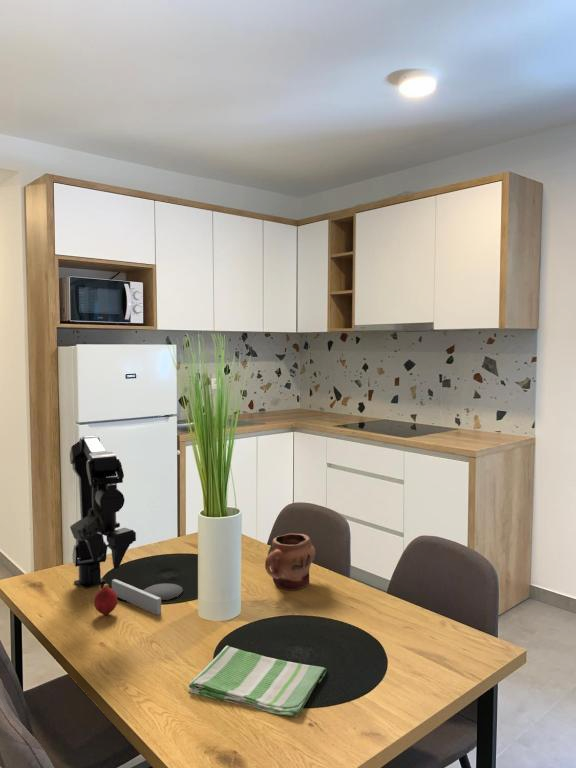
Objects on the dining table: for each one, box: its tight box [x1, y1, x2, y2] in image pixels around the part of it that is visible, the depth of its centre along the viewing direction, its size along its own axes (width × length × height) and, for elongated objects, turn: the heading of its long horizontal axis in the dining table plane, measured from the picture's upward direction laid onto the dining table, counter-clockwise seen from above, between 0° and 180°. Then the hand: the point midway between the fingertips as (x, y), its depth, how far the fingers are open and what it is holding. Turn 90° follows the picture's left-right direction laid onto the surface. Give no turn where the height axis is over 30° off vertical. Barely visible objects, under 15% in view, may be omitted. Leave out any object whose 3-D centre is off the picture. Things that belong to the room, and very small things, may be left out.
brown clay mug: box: [264, 533, 316, 591], centre depth 172 cm, size 20×12×14 cm, turn 147°
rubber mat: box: [142, 583, 184, 602], centre depth 168 cm, size 11×11×1 cm
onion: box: [93, 583, 119, 616], centre depth 154 cm, size 6×6×8 cm
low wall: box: [111, 578, 162, 616], centre depth 161 cm, size 20×1×4 cm, turn 50°
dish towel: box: [187, 645, 327, 717], centre depth 123 cm, size 18×23×3 cm
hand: (105, 564), depth 154 cm, fingers open, 9 cm apart
